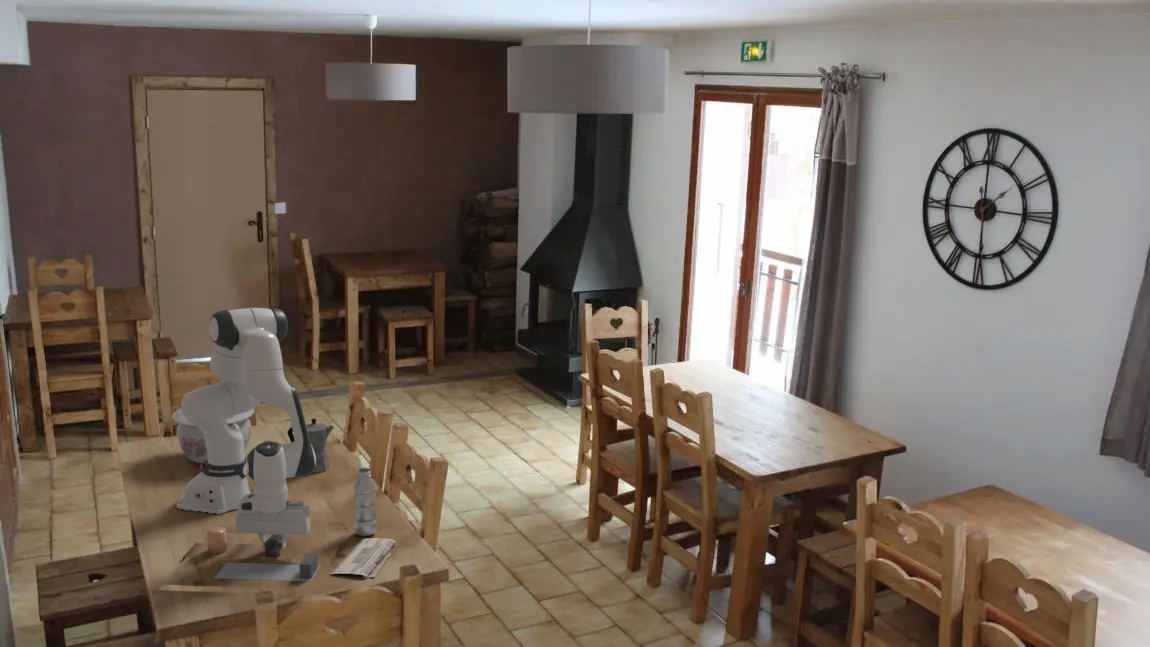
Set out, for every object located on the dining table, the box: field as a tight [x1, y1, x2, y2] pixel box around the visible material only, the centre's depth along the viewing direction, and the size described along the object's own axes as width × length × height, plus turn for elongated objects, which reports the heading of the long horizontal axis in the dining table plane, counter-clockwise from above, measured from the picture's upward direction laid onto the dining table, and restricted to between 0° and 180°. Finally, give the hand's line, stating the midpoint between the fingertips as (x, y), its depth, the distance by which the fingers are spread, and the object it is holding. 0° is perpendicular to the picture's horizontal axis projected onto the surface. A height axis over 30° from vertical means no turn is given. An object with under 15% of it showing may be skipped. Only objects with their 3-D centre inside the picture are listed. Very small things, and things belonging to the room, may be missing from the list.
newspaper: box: [329, 537, 397, 580], centre depth 285 cm, size 23×12×2 cm, turn 169°
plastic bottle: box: [352, 467, 378, 537], centre depth 298 cm, size 6×7×20 cm
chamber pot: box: [170, 408, 255, 464], centre depth 355 cm, size 28×28×21 cm
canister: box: [206, 526, 228, 555], centre depth 285 cm, size 5×5×6 cm
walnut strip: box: [182, 534, 287, 561], centre depth 285 cm, size 26×9×5 cm, turn 88°
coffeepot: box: [287, 418, 335, 474], centre depth 348 cm, size 15×9×18 cm, turn 103°
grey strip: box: [213, 553, 321, 582], centre depth 274 cm, size 26×9×5 cm, turn 88°
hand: (274, 547), depth 285 cm, fingers closed on walnut strip, 3 cm apart
